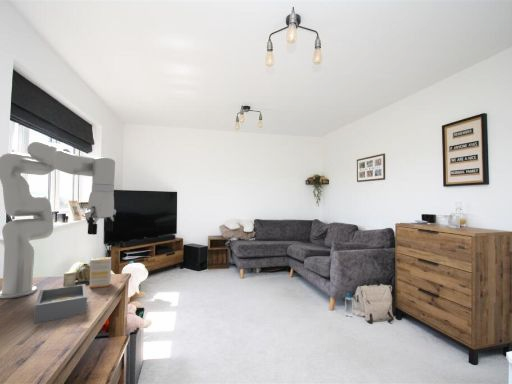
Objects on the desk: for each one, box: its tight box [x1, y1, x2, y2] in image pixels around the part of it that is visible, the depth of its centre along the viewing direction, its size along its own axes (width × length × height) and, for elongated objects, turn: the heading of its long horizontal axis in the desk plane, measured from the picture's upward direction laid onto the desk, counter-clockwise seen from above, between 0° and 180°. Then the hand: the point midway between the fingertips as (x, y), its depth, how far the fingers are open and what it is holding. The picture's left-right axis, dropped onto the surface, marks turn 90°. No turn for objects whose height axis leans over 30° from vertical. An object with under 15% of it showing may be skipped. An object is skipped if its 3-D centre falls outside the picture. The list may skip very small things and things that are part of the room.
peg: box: [62, 271, 76, 287], centre depth 108 cm, size 4×4×10 cm
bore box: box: [33, 283, 88, 324], centre depth 96 cm, size 16×14×6 cm
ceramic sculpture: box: [75, 262, 90, 283], centre depth 129 cm, size 11×9×15 cm
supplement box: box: [88, 256, 112, 289], centre depth 122 cm, size 8×5×13 cm, turn 110°
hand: (100, 232), depth 101 cm, fingers open, 9 cm apart
